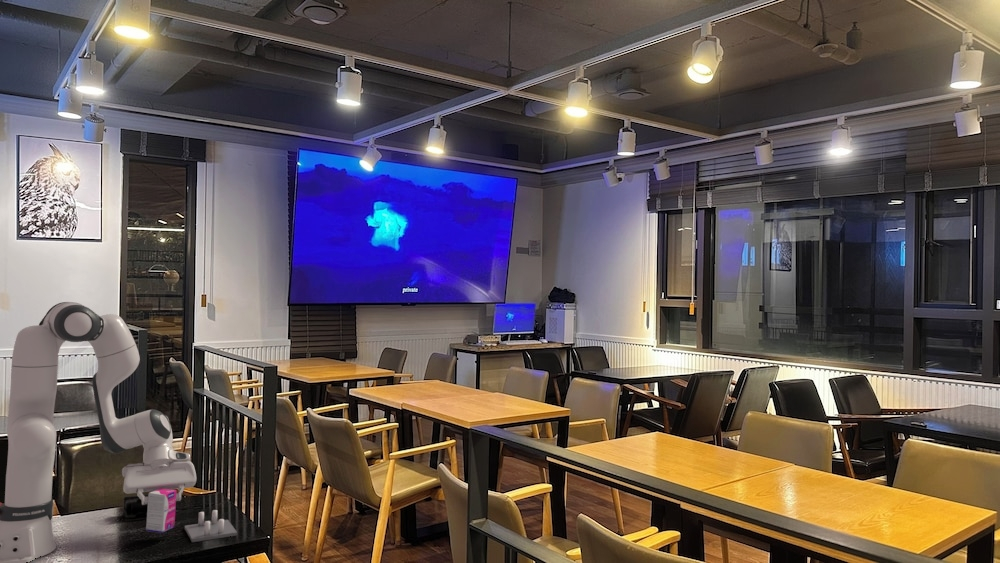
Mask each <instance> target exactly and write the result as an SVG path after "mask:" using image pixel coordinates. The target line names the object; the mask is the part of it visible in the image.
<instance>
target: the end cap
mask: <svg viewBox="0 0 1000 563" xmlns="http://www.w3.org/2000/svg"><path fill="white" fill-rule="evenodd" d="M143 495H144V496H145V497H148V494H143ZM147 509H148V504H145V505H142V500H141V499H140V498H139V497H138V496H137V495H132V496H124V497H123V510H122V512H123V513H122V514H123V515H122V516H123V517H124V522H133V521H141V520H142V521H143V520H147Z"/></svg>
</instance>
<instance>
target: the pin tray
mask: <svg viewBox="0 0 1000 563" xmlns="http://www.w3.org/2000/svg"><path fill="white" fill-rule="evenodd" d="M197 521H198V523H195V524H187V525H184V531H185V532H186V534H187V536H188V538H189V539H190V541H191V543H196V542H197V543H198V542H204V541H211V540H215V539H223V538H229V537H230V536H231V537H236V536H238V531H237V530H236V529H235V527H234V526H233V525H232V523H231V521H230V520H229V519H224V518H220V519H218V510H217V509H213V510H212V511H211V520H205V511H200V512H199V511H198V520H197Z"/></svg>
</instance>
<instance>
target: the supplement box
mask: <svg viewBox="0 0 1000 563" xmlns="http://www.w3.org/2000/svg"><path fill="white" fill-rule="evenodd" d="M177 490H178V489H163V488H160V489H158V490H155V491H151V492H148V494H147V495H148V509H147V519H146V524H145V525H146V526H145V531H146V532H147V533H148V532H150V533H156V534H157V533H158V534H163V533H165V532H167V531H169V530H171V529H173V528H175V523H176V521H175V520H176V506H177V505H176V504H177V501H176V494H177V493H178V492H177Z"/></svg>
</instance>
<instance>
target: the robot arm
mask: <svg viewBox="0 0 1000 563" xmlns="http://www.w3.org/2000/svg"><path fill="white" fill-rule="evenodd" d="M65 342H70V343H81V342H88V344H90V345H91V347H92V349H93V351H94V355H95V357H96V361H97V370H96V372H95V373H94V375H93V376H92V381H91V382H92V390H93V391H92V392H93V399H94V402H95V408H96V414H97V419H98V424H99V434H100V443H101V445H102V448H103V449H104V450H105V451H107V452H109V453H112V454H116V455H118V454H121V453H123V452H126V451H128V450H130V449H133V448H136V447H138V446H142V447H143V454H142V458H143V460H142V462H138V463H128V464H127V465H125V466H123V467H122V469H121V476H122V477H123V478H124V481H123V493H125V494H126V495H130V494H137V495H136V496H138V497H139V498H140V499H141V500H142V505H145V504H148V497H145V496H144V495H145V494H144V493H150V492H153V491H155V490H158V489H160V488H163V489H170V490H178V492H177V494H176V502H180V501H181V500H182V495H183V492H184V489H187V488H188V489H189V488H193V487H194V486H195V485H196V483H197V473H196V469H195V465H194V464H193V462H192V461H191V455H190V453H187V452H181V451H178V450H175V449H174V447H173V442H174V438H173V431H172V425H171V421H170V420H169V417H168V416H167V415H166V414H165V413H163V412H161V411H159V410H157V409H155V408H154V409H153V408H151V409H148V410H144V411H141V412H138V413H136V414H133V415H129V416H126V417H122V418H117V417H116V412H115V408H114V402H113V396H112V393H113V390H114V388H115V387H117V386H118V385H119V384H120V383H122V382H123V381H124V380H126V379H127V378H129V377H130V376H131V375H132V374H133V373H134V372H135V371H136V369H137V368H138V366H139V364H140V360H141V358H140V353H139V349H138V346H137V344H136V341H135V339H134V336H133V334H132V333H131V330H130V329H129V327H128V325H127V323H126V322H125V321H124V319H123V317H121V316H119V315H117V314H114V313H113V314H112V313H111V314H110V313H109V314H107V313H106V314H103V315H99V314H97V313H96V311H94V310H92V309H90V308H89V307H87V306H85V305H83V304H82V303H79V302H73V301H63V302H62V301H61V302H58V303H56V304H55V305H53V306H52V307H51V308H49V310H48V311H47V312H46V313H45V315H44V316H43V318H42V319H41V321H40V322H39V323H38V325H30V326H29V325H28V326H26V327H24V328H22V329H21V330H19V331H18V333H17V335H16V338H15V341H14V346H13V350H12V357H11V369H10V385H9V387H10V390H9V399H8V400H9V402H8V411H7V413H8V414H7V425H6V426H7V427H6V434H7V440H8V443H7V444H8V447H7V448H8V450H7V463H6V464H7V465H6V472H5V473H6V474H5V489H4V490H5V491H4V494H5V495H4V503H2V502H0V563H26V562H28V563H30V561H31V562H33V561H34V560H36V559H38V558H41V557H43V556H46V555H49V554H51V553H52V552H53V551H55V550H56V548H57V545H56V542H55V539H54V538H55V537H54V533H53V524H52V523H53V522H52V520H53V517H54V504H55V503H54V500H53V498H52V497H53V496H52V494H53V474H54V472H53V471H54V465H55V455H56V445H57V429H56V427H55V425H54V413H55V406H56V405H55V404H56V396H57V389H58V373H59V372H58V369H59V352H60V349H61V347H62V345H63V344H64V343H65ZM40 556H41V557H40ZM35 558H36V559H35ZM32 560H33V561H32Z"/></svg>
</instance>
